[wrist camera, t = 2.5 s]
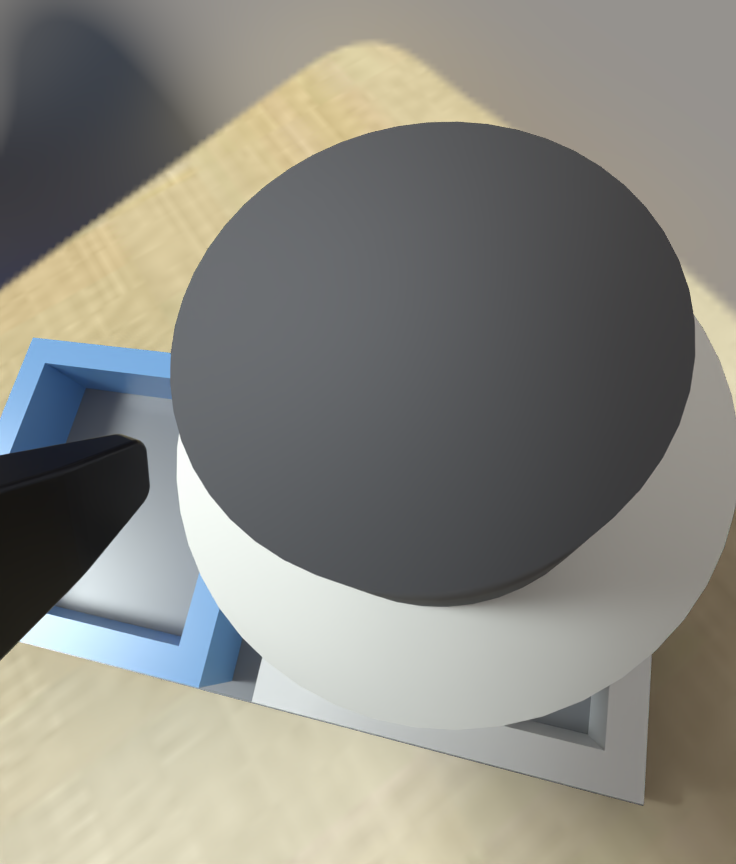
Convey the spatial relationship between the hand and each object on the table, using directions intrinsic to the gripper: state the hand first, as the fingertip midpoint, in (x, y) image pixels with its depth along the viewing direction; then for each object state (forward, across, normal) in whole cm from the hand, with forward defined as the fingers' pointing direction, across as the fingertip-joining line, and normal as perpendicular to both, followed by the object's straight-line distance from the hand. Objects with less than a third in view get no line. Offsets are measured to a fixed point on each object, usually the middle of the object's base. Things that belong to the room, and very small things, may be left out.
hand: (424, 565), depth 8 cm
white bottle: (+7, 0, +5) cm, 8 cm away
